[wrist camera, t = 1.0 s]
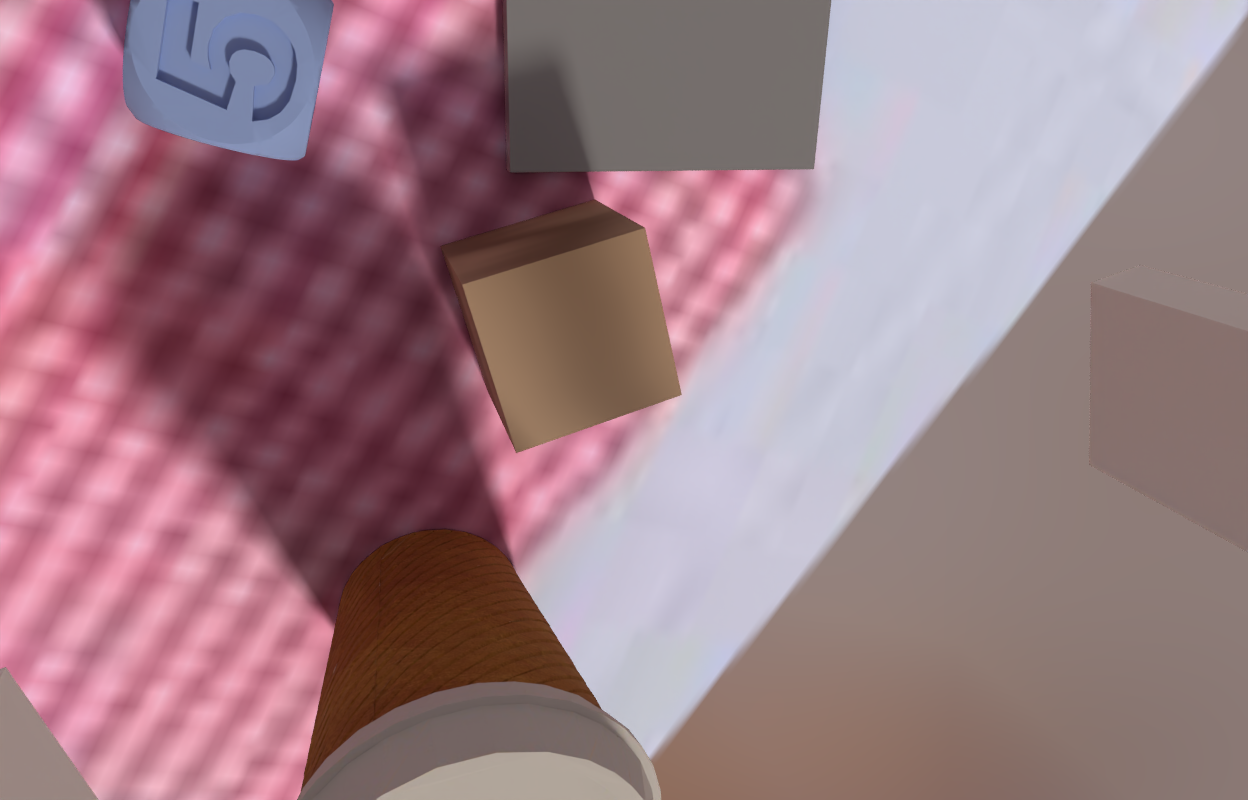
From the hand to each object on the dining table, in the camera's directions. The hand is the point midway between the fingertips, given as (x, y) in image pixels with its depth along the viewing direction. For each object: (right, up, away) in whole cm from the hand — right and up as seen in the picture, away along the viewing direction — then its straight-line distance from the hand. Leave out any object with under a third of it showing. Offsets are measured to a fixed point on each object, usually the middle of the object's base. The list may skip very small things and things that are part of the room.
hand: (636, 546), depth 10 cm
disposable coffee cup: (-7, -5, +21) cm, 22 cm away
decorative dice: (-10, +11, +13) cm, 20 cm away
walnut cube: (-3, +5, +18) cm, 19 cm away
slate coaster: (+1, +14, +15) cm, 21 cm away
